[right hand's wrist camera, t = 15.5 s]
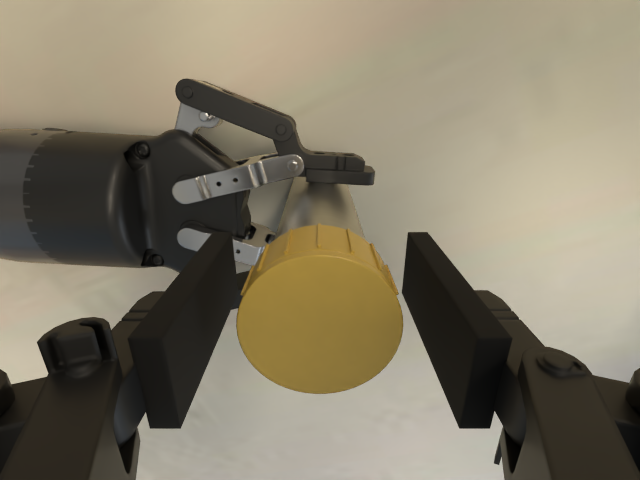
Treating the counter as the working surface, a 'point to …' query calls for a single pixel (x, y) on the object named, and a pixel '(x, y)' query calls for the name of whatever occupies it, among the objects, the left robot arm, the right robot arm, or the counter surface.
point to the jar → (319, 207)
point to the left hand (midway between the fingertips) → (366, 214)
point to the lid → (319, 311)
